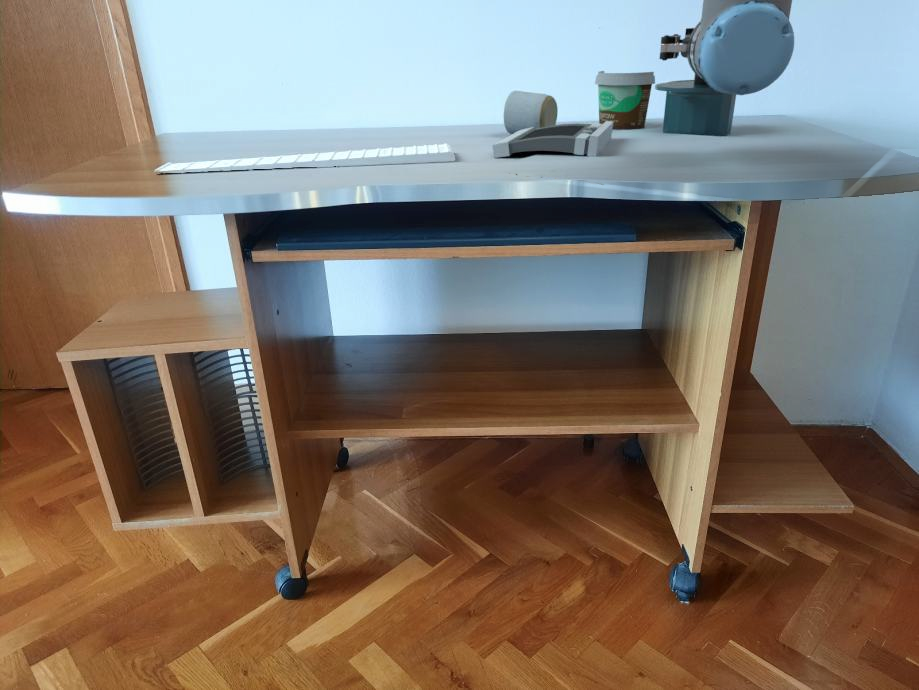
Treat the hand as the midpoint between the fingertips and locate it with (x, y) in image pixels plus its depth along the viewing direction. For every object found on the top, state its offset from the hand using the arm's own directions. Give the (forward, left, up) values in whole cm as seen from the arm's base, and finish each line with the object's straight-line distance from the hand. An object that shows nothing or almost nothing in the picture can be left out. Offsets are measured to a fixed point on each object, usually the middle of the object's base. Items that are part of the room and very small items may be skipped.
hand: (704, 43), depth 89 cm
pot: (+8, -23, -15) cm, 29 cm away
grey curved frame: (+21, +5, -15) cm, 26 cm away
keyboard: (+48, +33, -15) cm, 60 cm away
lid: (-2, +5, -5) cm, 8 cm away
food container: (+24, -23, -15) cm, 36 cm away
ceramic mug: (+34, -9, -15) cm, 38 cm away
